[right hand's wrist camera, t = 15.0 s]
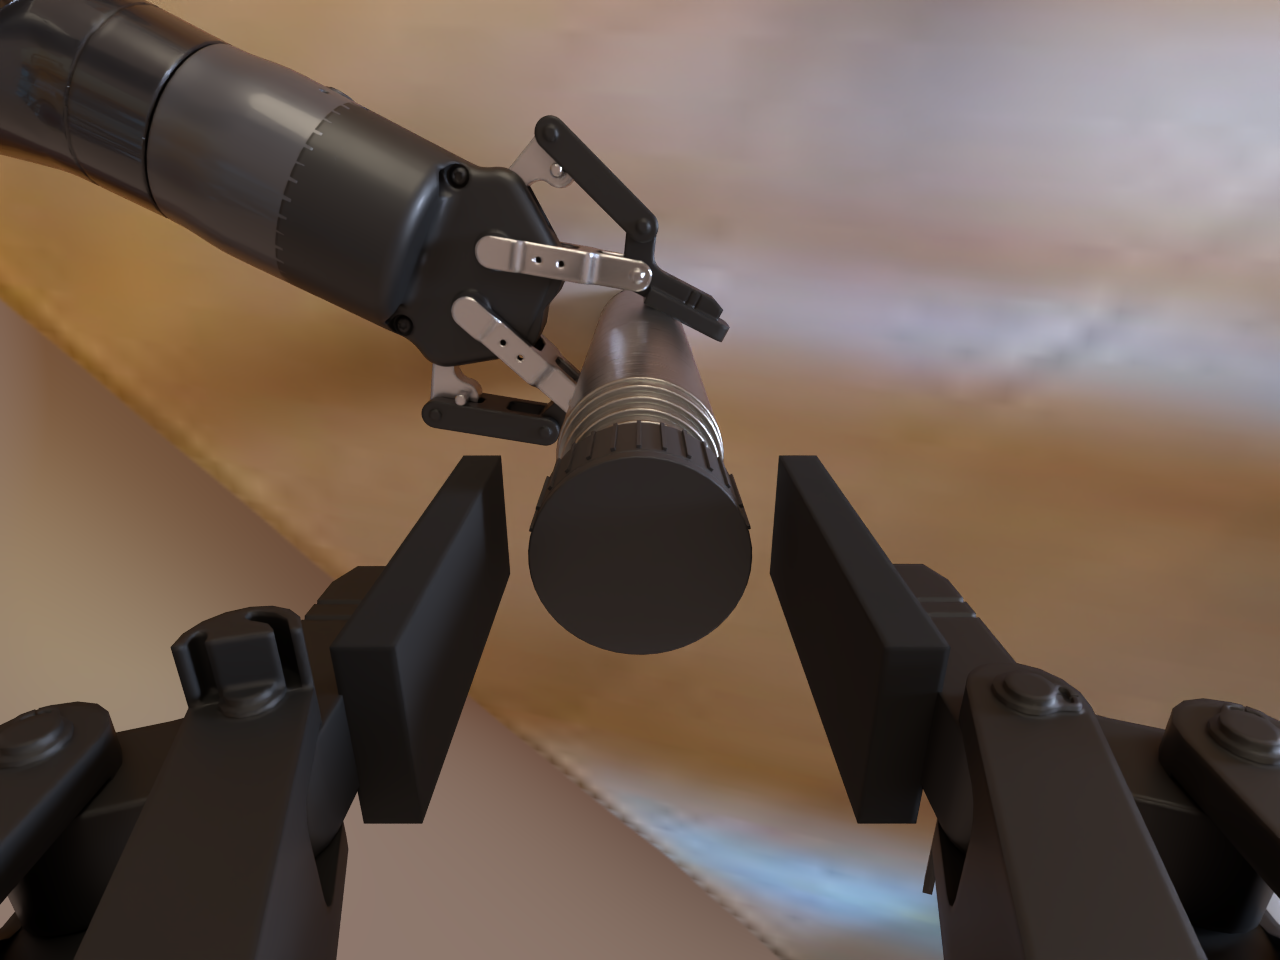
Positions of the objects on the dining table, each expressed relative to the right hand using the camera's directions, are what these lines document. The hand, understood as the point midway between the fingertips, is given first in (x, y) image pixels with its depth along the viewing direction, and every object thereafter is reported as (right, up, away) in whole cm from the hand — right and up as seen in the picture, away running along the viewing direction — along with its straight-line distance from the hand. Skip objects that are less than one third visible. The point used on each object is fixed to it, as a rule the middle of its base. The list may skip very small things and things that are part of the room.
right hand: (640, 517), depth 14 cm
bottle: (0, +9, +22) cm, 23 cm away
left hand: (+2, +5, +16) cm, 17 cm away
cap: (0, -1, -1) cm, 2 cm away
